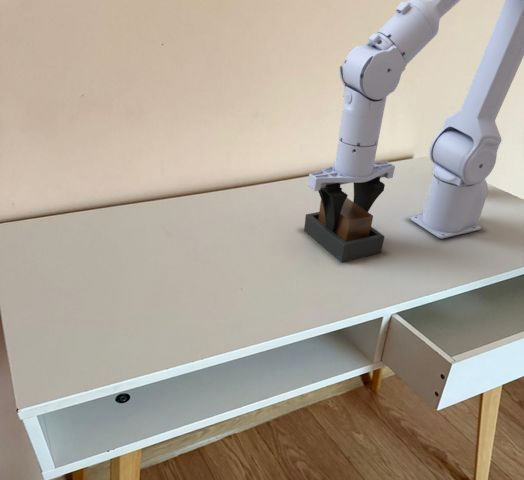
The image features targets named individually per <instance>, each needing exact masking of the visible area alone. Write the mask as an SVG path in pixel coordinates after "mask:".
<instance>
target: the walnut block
mask: <svg viewBox="0 0 524 480" xmlns="http://www.w3.org/2000/svg"><path fill="white" fill-rule="evenodd" d="M353 201H354V200H351V199H349V198H348V197H347V198H346V200H345V202H344V204H343V207H342V209H341V213H340V218H339V223H338V226H337V229H336V231H332V232H334V233H335V234H336V235H338V236H339V237H340V238H341V239H343V240H344V241H345V242H348V241H352V240H357V239H361V238H366V237H369V234H370V229H371V227H372V223H373V219H374V215H373V214H372V213H370V212H369V211H368V212H367V211H365V210H364V209H363V208H361V207H360V206H358V205H357V204H355V203H354V202H353ZM318 212H319V218H318V221H320V222H321V223H322V224H324V225H325V226H326V222H325V213H324V208H323V203H322V200H321V199H320V204H319V211H318Z"/></svg>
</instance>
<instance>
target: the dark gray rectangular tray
mask: <svg viewBox="0 0 524 480" xmlns="http://www.w3.org/2000/svg"><path fill="white" fill-rule="evenodd" d="M318 218H319V211H316V212H311V213H306V214H305V217H304V228H303V232H305V233H306V234H307V235H308V236H309V237H310V238H312V239H313V240H314V241H315V242H317V243H318V244H319V245H320V246H321V247H322V248H324V249H325V250H326V251H327V252H328V253H330V254H331V255H332V256H333V257H335V259H337V260H338V261H339V262H340V263H345V262H349V261H354V260H357V259H361V258H365V257H370V256H374V255H377V254H381V253H382V250H383V245H384V242H385V236H386V235H384V234H382V233H381V232H379V231H378V230H377V229H375V228H374V227H373V226H371V229H370V234H369V237H366V238H361V239H357V240H352V241H348V242H345V241H344V240H343V239H341V238H340V237H339V236H338V235H336V234H335V233H334V232H332V231H331V230H330V229H329V228H327V227H326V226H325V225H324V224H322V223H321V222H320V221H318Z"/></svg>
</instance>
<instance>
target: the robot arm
mask: <svg viewBox="0 0 524 480" xmlns="http://www.w3.org/2000/svg"><path fill="white" fill-rule="evenodd" d="M460 1H461V0H407V1H403V0H402V1H401V2H400V3H399V4H398V5H397V6H396V7H395V11H396V12H395V13H394V14H393V16H391V17H390V18H389V19H388V20H387V22H385V24H384V25H382V27H381V28H380V29H379V30H378V31H377V32H376V33H375V32H373V33H372V34H371V35H370V36H369V37H368V41H367V43H366V44H365V43H361V45H360V44H359V45H357V46H355V47H353V48H352V49H351V50H350V51H349V53H348V54H347V55H346V57H345V59H344V62H343V65H340V66H339V78H340V80H341V82H342V84H343V89H344V90H343V98H344V99H343V104H342V113H341V119H340V126H339V132H338V140H337V147H336V155H335V160H334V161H333V165H330V166H328V167H326V168H324V169H321V170H318V171H316V172H312V173H309V174H308V181H307V187H308V188H309V189H311V190H313V192H318V194H319V197H320V201H321V200H322V203H323V208H324V213H325V222H326V227H327V228H329V229H330V230H331V231H336V229H337V226H338V223H339V218H340V213H341V209H342V207H343V204H344V202H345V200H346V198H348V196H349V195H348V194H347V193H346V192H345V191H343V188H342V187H341V185H346V184H351V183H352V184H353V200H352V201H353V202H354V203H355V204H357V205H358V206H360V207H361V208H363V209H364V210H365V211H367V212H368V213H369V212H370V209H371V207H372V206H373V204H374V203H375V202H376V200H377V199H378V197H379V196H380V195H381V194H382V193H383V192H384V191H385V187H386V185H385V183H384V182H382V181H381V179H382V178H385V179H393V178H394V174H395V170H396V169H395V168H396V166H395V165H394V164H393V163H391V162H389V161H376V162H375V160H376V156H377V150H378V144H379V139H380V133H381V128H382V123H383V118H384V112H385V108H386V101H387V97H388V96H389V95H391V94H392V93H393V92H395V91H396V89H397V87H398V85H399V83H400V81H401V76H402V74H403V72H404V71H405V70H406V67H407V66H408V64H409V63H410V62H411V61H412V60H414V58H415V57H416V56H417V55H418V54H419V53H420V52H421V51H422V50H423V49H425V47H426V46H427V45H428V44H429V43H430V42H431V41H432V40H433V39H434V38H435V37H436V36H437V34H438V32H439V29H440V28H439V27H440V20H441V19H442V18H443V16H445V15H446V14H447V13H448V12H449V11H450V10H452V9H453V8H454V7H455V6H456V5H457V4H458V3H459V2H460ZM523 59H524V0H504V2H503V5H502V8H501V10H500V12H499V15H498V17H497V20H496V22H495V25H494V27H493V30H492V32H491V35H490V37H489V39H488V42H487V44H486V46H485V49H484V51H483V54H482V57H481V59H480V62H479V64H478V66H477V68H476V71H475V74H474V75H473V79H472V81H471V84H470V86H469V88H468V91H467V93H466V96H465V98H464V100H463V102H462V106H461V108H460V110H459V111H457V112H455V113H453V114H451V115H450V116H448V117H446V118H445V120H444V122H443V125H442V126H441V129H440V130H439V132H438V133H437V134H436V135H435V137H434V138H433V139H432V141H431V143H430V146H429V149H428V150H429V151H428V152H429V153H428V156H429V159H430V161H431V162H432V168H431V169H432V171H433V173H432V174H433V175H432V178H431V182H430V186H429V189H428V194H427V197H426V200H425V205H424V209H423V213H422V214H419V215H413V216H411V217H410V220H411V221H412V222H413V223H415V224H416V225H418V226H419V227H421V228H422V229H424V230H425V231H427V232H429V233H430V234H431V235H433V236H434V237H436V238H438V239H441V240H443V239H446V238H450V237H455V236H460V235H463V234H467V233H472V232H475V231H476V232H477V231H480V230H481V226H480V225H479V221H480V217H481V215H482V213H483V208H484V206H485V203H486V199H487V197H488V193H489V188H488V182H487V178H488V176H490V174H491V173H492V172H493V169H494V168H495V165H496V162H497V157H498V156H497V155H498V150H499V147H500V145H501V143H502V136H501V133H500V131H499V129H498V125H497V123H496V119H497V117H498V115H499V113H500V110H501V108H502V106H503V103H504V101H505V99H506V97H507V95H508V92H509V90H510V88H511V86H512V83H513V82H514V79H515V77H516V74H517V73H518V70H519V67H520V66H521V63H522V61H523Z"/></svg>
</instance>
